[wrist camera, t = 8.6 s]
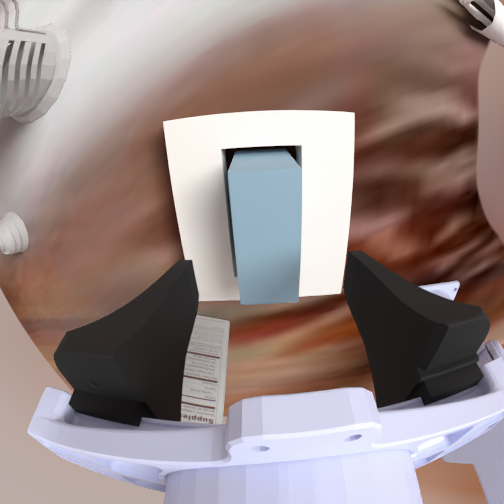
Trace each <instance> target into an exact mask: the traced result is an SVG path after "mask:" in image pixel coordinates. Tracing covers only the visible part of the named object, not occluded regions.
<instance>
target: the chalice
mask: <svg viewBox="0 0 504 504" xmlns="http://www.w3.org/2000/svg"><path fill="white" fill-rule="evenodd" d="M28 242H29V238H28V232H27V229H26V226H25V225H24V223H23V221H22V219H21V218H20V217H19V216H18V215H17V214H16V213H14V212H12V211H8V212H5V214H4V215H3V217H2V219H1V220H0V251H2V252H3V253H5V254H9V255H11V254H13V253H18V252H24V251H25V250H26V249H27V247H28Z"/></svg>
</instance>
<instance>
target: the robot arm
mask: <svg viewBox="0 0 504 504" xmlns="http://www.w3.org/2000/svg"><path fill="white" fill-rule="evenodd" d="M459 285H460V284H459V282H458V281H452V282H445V283H438V284H431V285H424V286H416V285H414V284H412V283H411V282H409V281H407V280H405V279H404V278H402V277H400V276H399V275H397V274H396V273H394V272H392V271H391V270H389V269H388V268H386V267H385V266H383V265H382V264H380V263H379V262H377V261H376V260H375V259H373V258H372V257H370V256H368V255H367V254H365V253H364V252H362V251H348V258H347V266H346V273H345V280H344V286H343V288H344V292H345V296H346V299H347V303H348V306H349V308H350V311H351V313H352V315H353V318H354V320H355V322H356V325H357V327H358V330H359V332H360V334H361V337H362V339H363V342H364V345H365V348H366V352H367V356H368V360H369V364H370V368H371V373H372V378H373V383H374V389H375V396H376V403H377V406H376V404H375V400H374V397H373V393H372V392H370V391H368V390H366V389H364V388H362V387H345V388H338V389H331V390H324V391H315V392H306V393H296V394H283V395H266V396H257V397H251V398H245V399H243V400H241V401H239V402H237V403H235V404H233V405H231V406H230V407H229V410H228V413H227V424H205V423H189V422H181V403H182V388H183V377H184V368H185V360H186V355H187V350H188V346H189V342H190V338H191V334H192V331H193V327H194V323H195V319H196V315H197V310H198V301H199V292H198V287H197V282H196V277H195V272H194V267H193V262H192V260H179V261H178V262H177V263H176V264H174V265H173V266H172V267H171V268H170V269H169V270H168V271H167V272H166V273H165V274H164V275H162V276H161V277H160V278H159V279H158V280H157V281H156V282H155V283H154V284H152V285H151V286H150V287H149V288H148V289H146V290H145V291H144V292H143V293H142V294H140V295H139V296H138V297H136V298H135V299H134V300H132V301H131V302H129V303H128V304H126V305H125V306H123V307H122V308H120V309H118V310H116V311H115V312H113V313H111V314H109V315H108V316H106V317H104V318H102V319H100V320H97V321H95V322H93V323H91V324H88V325H86V326H83V327H80V328H77V329H74V330H72V331H68V332H66V334H65V336H64V338H63V339H62V341H61V343H60V344H59V346H58V348H57V350H56V352H55V353H54V360H55V363H56V366H57V367H58V369H59V371H60V372H61V373H62V374H63V376H64V377H65V378H66V380H67V381H68V382H69V383H70V384H71V386H72V387H73V388H74V392H73V394H72V395H70V394H69V393H68V392H65V391H62V390H59V389H55V388H52V387H49V386H47V387H46V389H45V391H44V393H43V395H42V397H41V400H40V402H39V404H38V406H37V409H36V411H35V413H34V415H33V418H32V420H31V423H30V425H29V428H28V430H27V432H28V433H29V434H30V435H31V436H32V437H34V438H35V439H36V440H37V441H39V442H40V443H41V444H43V445H44V446H45V447H47V448H48V449H49V450H51V451H52V452H54V453H55V454H56V455H58V456H59V457H61V458H63V459H65V460H67V461H70V462H72V463H75V464H77V465H80V466H82V467H84V468H87V469H90V470H92V471H95V472H98V473H100V474H103V475H106V476H109V477H112V478H115V479H118V480H121V481H124V482H127V483H131V484H134V485H137V486H141V487H145V488H149V489H153V490H157V491H161V492H165V499H164V504H423V503H422V498H421V493H420V489H419V485H418V480H417V477H416V473H415V469H416V468H418V467H421V466H423V465H425V464H427V463H429V462H432V461H434V460H436V459H438V458H440V457H441V458H442V459H443V461H445V462H451V463H466V464H473V465H474V468H475V470H476V473H477V475H478V478H479V480H480V483H481V486H482V488H483V491H484V494H485V497H486V500H487V503H488V504H504V349H503V348H502V346H501V345H500V344H499V342H498V341H497V340H493V341H492V340H489V341H488V342H487V343H486V344H485V343H484V342H483V341H484V340H485V338H486V336H487V334H488V332H489V328H490V319H489V318H488V316H487V315H486V314H485V312H484V311H483V310H482V308H481V307H479V306H474V305H469V304H465V303H460V302H457V301H454V298H455V295H456V293H457V290H458V288H459Z"/></svg>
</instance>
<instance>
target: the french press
mask: <svg viewBox="0 0 504 504" xmlns="http://www.w3.org/2000/svg"><path fill="white" fill-rule="evenodd" d="M12 1H13V2H14V3H15V9H16V17H15V28H16V29H10V28H8V8H7V4H6V2H5V1H4V0H0V2H1V3H2V4H3V5H4V9H5V26H4V27H5V29H0V105H1V106H0V119H1V118H5V117H9V116H10V117H11V118H13V119H14V120H16V121H17V122H19V123H32V122H33V121H35V120H36V119H38V118H40V117H41V116H43V115H45V113H46V112H47V111H48V110H49V108H50V107H51V106H52V105H53V103H54V102H55V101H56V100H57V98H58V96H59V94H60V91H61V89H62V87H63V85H64V83H65V81H66V79H67V74H68V69H69V64H70V60H71V51H70V39H69V38H68V36H67V34H66V33H65V31H64V29H63V28H62V27H59V26H56V25H53V24H48V25H44V26H40V27H37V28H36V29H34V30H31V29H25V28H19V26H18V19H19V8H18V3H17V1H16V0H12ZM8 43H11V44H10V45H9V46H7V45H8Z"/></svg>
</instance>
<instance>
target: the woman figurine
mask: <svg viewBox="0 0 504 504" xmlns="http://www.w3.org/2000/svg"><path fill="white" fill-rule="evenodd" d="M471 1H474V2H476V3H477V4H478V5H480V6H481V7H482V8H483V9H484V10H485V11H486V12H487V13H488V14H489V15H490V16H491V17H492V18H493V23H492V22H491V21H490V20H489V19H488V18H486V17H485V15H483V14H482V13H481V12H480V11H479V10H477V9H476V8H475V7H474V6H472V5H471V4H470V3H471ZM459 2H460V3H461V4H462V5H463V6H464V7H465V8H466V9H467V10H468V11H469V12H470V13H471V14H472V15H473V16H474V17H475V18H476V19H477V20H480V21H481V22H482V23H483V24H484V25H485V26H487V28H485V29H484V30H482V31H480V30H478V29H476V28H475V27H473V26H471V25H470V27H471V28H472V29H473V30H475V31H477V32H479V33H480V34H482V35H484V36H485V37H487V38H489V39H490V40H492V41H494V42H495V43H497V44H499V45H501V46H503V47H504V6H503V5H502V4H501V3H500V2H499V0H459Z"/></svg>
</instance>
